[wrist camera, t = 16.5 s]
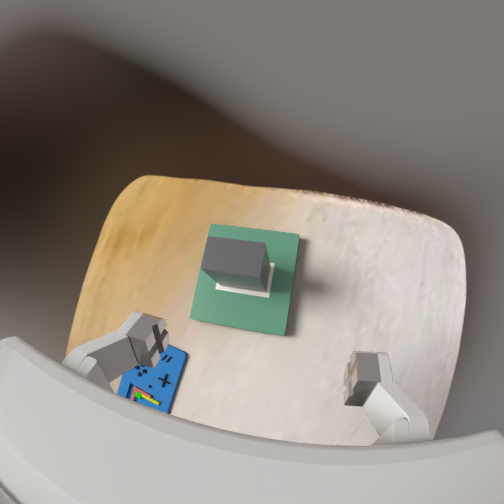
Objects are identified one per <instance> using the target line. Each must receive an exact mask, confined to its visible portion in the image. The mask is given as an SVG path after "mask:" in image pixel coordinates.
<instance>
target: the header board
mask: <svg viewBox="0 0 504 504" xmlns="http://www.w3.org/2000/svg"><path fill="white" fill-rule="evenodd" d="M208 236H213V237H221V238H230V239H238V240H246V241H254V242H262V243H266V247H267V252H268V256H269V261H270V273H269V279H268V285H267V291H266V293H265V292H258V291H252V290H245V289H239V288H233V287H227V286H221V285H219V284H218V283H217V282H216V281H215V280H213V279H212V278H211V277H210V276H209V275H208V274H206V273H205V272H204V271H203V270H202V269H201V268H200V272H199V277H198V281H197V286H196V290H195V295H194V300H193V305H192V310H191V315H190V319H195V320H199V321H204V322H209V323H213V324H218V325H224V326H229V327H234V328H239V329H245V330H251V331H256V332H262V333H269V334H275V335H281V336H284V335H285V330H286V324H287V317H288V311H289V305H290V299H291V292H292V285H293V278H294V271H295V264H296V257H297V250H298V242H299V234H293V233H285V232H278V231H269V230H261V229H253V228H245V227H236V226H227V225H218V224H211V225H210V229H209V233H208ZM207 239H208V238H207ZM206 243H207V242H206ZM205 247H206V246H205ZM204 251H205V250H204ZM203 256H204V255H203ZM202 260H203V259H202ZM201 265H202V263H201Z"/></svg>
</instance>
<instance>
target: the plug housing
mask: <svg viewBox="0 0 504 504" xmlns="http://www.w3.org/2000/svg"><path fill="white" fill-rule="evenodd" d="M201 269H202V270H203V271H204V272H205V273H206V274H208V275H209V276H210V277H211V278H212V279H213V280H215V281H216V282H217V283H218V284H219V285H221V286H227V287H233V288H239V289H245V290H252V291H258V292H265V293H266V291H267V285H268V279H269V273H270V261H269V256H268V252H267V247H266V243H262V242H254V241H246V240H238V239H230V238H221V237H213V236H208V239H207V243H206V247H205V251H204V256H203V260H202V265H201Z"/></svg>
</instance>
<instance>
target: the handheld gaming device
mask: <svg viewBox="0 0 504 504" xmlns="http://www.w3.org/2000/svg"><path fill="white" fill-rule="evenodd" d="M186 358H187V354H186V353H185V352H184V351H182V350H179V349H177V348H175V347H172V346H170V345H168V346H167V348H166V350H165V351H164V352H162V353H160V360H159V361H158V363H157V365H156V366H155V368H151V367H147V366H144V365H141V364H138V365H137V366H135V367H134V368H132V369H131V370H129V371H127V372H126V373H124V374H123V375H122V379H121V382H120V386H119V390H118V393H117V394H119V395H121V396H123V397H126V398H128V399H130V400H133V401H135V402H138V403H140V404H143V405H145V406H148V407H151V408H153V409H156V410H159V411H162V412H165V413H167V414H168V412H169V409H170V406H171V403H172V400H173V397H174V394H175V391H176V388H177V385H178V382H179V379H180V376H181V373H182V370H183V367H184V364H185V361H186Z"/></svg>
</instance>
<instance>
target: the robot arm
mask: <svg viewBox="0 0 504 504" xmlns="http://www.w3.org/2000/svg"><path fill="white" fill-rule="evenodd" d="M165 327H166V321H165V319H163V318H160V317H156V316H153V315H149V314H146V313H142V312H139V311H134V312H133V313H132V314H131V315H130V316H129V317H128V319H127V320H126V321H125V322H124V323H123V325H122V326H121V327H120V328H119V330H118V331H117V332H111V333H109V334H107V335H104V336H102V337H100V338H97V339H95V340H92V341H90V342H88V343H85V344H83V345H80V346H78V347H75V348H74V349H73V350H72V351H71V352H70V354H69V355H68V356H67V357H66V358H65V360H64V361H63V362H62V363H61V364H58V363H56V362H55V361H53V360H52V359H50V358H48V357H47V356H45V355H44V354H42V353H40V352H39V351H37V350H36V349H34V348H33V347H31V346H30V345H28V344H27V343H25V342H24V341H23V340H21V339H20V338H18V337H10V338H6V339H3V340H0V504H504V435H503V434H502V433H501V432H499V431H498V430H497V429H488V430H484V431H480V432H476V433H472V434H467V435H463V436H458V437H453V438H447V439H441V440H435V441H431V436H430V430H429V424H428V418H427V416H426V415H425V414H424V413H423V411H422V410H421V409H420V408H419V407H418V406H417V405H416V404H415V402H414V401H413V400H412V399H411V398H410V397H409V396H408V395H407V394H406V393H405V391H404V390H403V389H402V388H401V387H400V386H399V385H398V384H397V383H394V382H393V377H392V371H391V366H390V361H389V356H388V354H387V353H381V352H365V351H353V352H352V354H351V362H349V363H348V364H347V366H346V369H345V373H344V385H345V386H346V389H345V391H344V405H349V406H363V407H362V408H363V409H364V411H365V412H366V414H367V416H368V417H369V419H370V421H371V422H372V424H373V425H374V427H375V429H376V430H377V432H378V433H379V435H380V437H379V438H378V439H377V440H376V441H375V442H374V443H373V444H372V445H371V446H339V445H320V444H308V443H298V442H289V441H282V440H275V439H268V438H262V437H257V436H251V435H246V434H241V433H236V432H232V431H227V430H223V429H219V428H215V427H211V426H207V425H203V424H200V423H196V422H193V421H189V420H186V419H183V418H180V417H177V416H173V415H170V414H167V413H165V412H162V411H159V410H156V409H153V408H151V407H148V406H145V405H143V404H140V403H138V402H135V401H133V400H130V399H128V398H126V397H123V396H121V395H119V394H116V393H114V392H113V389H112V388H111V386H110V384H109V382H111V381H113V380H114V379H116V378H118V377H119V376H121V375H122V374H124V373H126V372H127V371H129V370H131V369H132V368H134V367H135V366H137V365H138V364H141V365H144V366H147V367H151V368H155V366H156V365H157V363H158V361H159V360H160V353H162V352H164V351H165V350H166V348H167V346H168V342H169V334H168V332H167V330H166V329H165Z"/></svg>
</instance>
